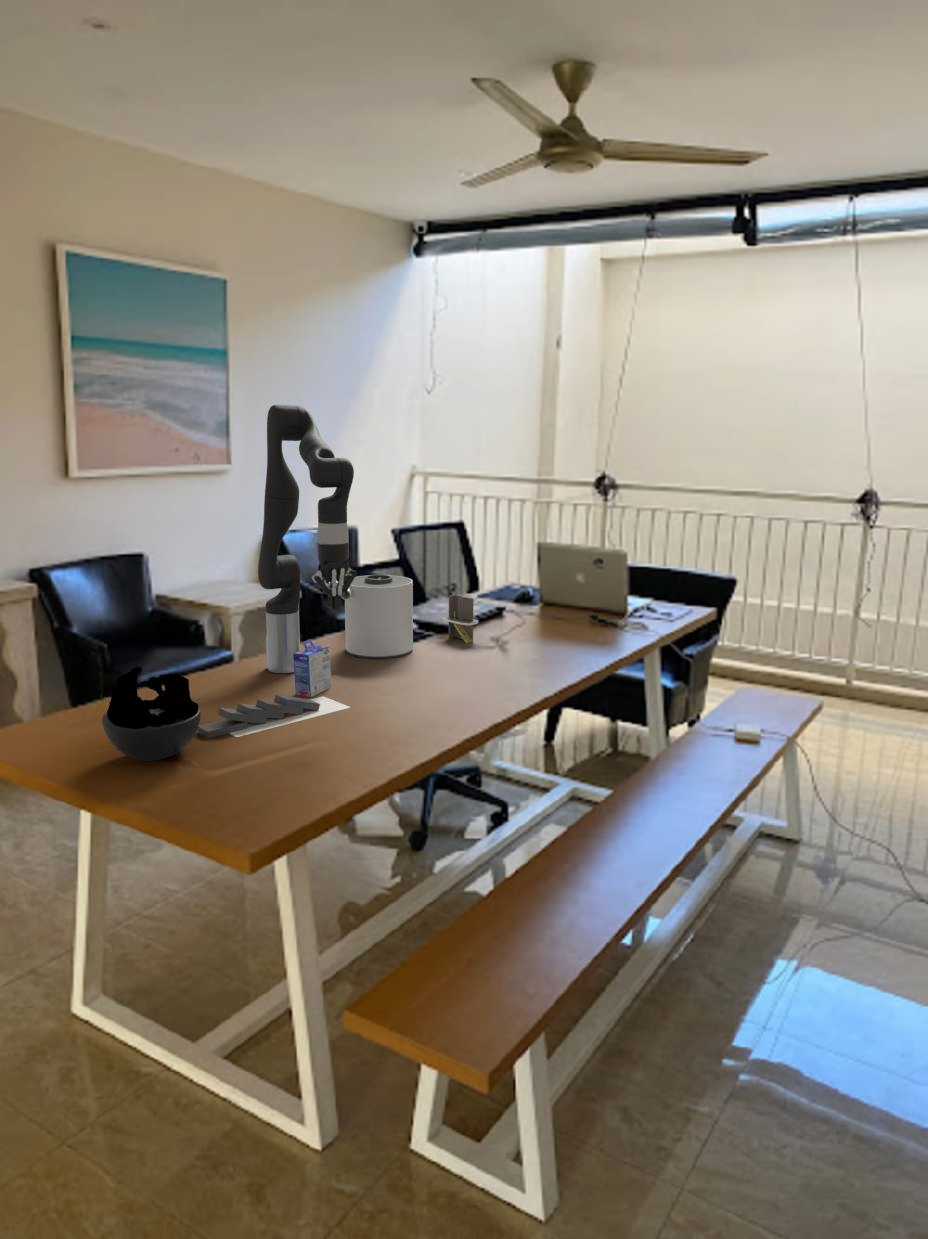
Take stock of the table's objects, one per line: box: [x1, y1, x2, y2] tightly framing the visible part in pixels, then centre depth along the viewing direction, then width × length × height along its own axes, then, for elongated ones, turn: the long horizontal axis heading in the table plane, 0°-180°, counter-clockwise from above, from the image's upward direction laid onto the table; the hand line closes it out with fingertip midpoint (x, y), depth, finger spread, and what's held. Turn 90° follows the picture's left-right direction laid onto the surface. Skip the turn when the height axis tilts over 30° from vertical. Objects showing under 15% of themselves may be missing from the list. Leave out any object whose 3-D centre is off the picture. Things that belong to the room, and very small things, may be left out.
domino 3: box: [235, 702, 284, 719], centre depth 216 cm, size 2×5×10 cm
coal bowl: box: [101, 666, 202, 762], centre depth 194 cm, size 20×20×19 cm
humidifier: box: [341, 574, 414, 660], centre depth 283 cm, size 22×21×23 cm
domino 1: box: [197, 718, 248, 739], centre depth 210 cm, size 2×5×10 cm
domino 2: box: [217, 707, 267, 724], centre depth 213 cm, size 2×5×10 cm
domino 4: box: [255, 698, 303, 714], centre depth 220 cm, size 2×5×10 cm
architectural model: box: [443, 594, 479, 644], centre depth 298 cm, size 20×25×15 cm
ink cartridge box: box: [293, 638, 332, 698], centre depth 239 cm, size 10×6×14 cm, turn 155°
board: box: [228, 695, 351, 738], centre depth 221 cm, size 12×32×1 cm, turn 133°
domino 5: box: [273, 694, 320, 710], centre depth 223 cm, size 2×5×10 cm
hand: (334, 609), depth 226 cm, fingers closed
